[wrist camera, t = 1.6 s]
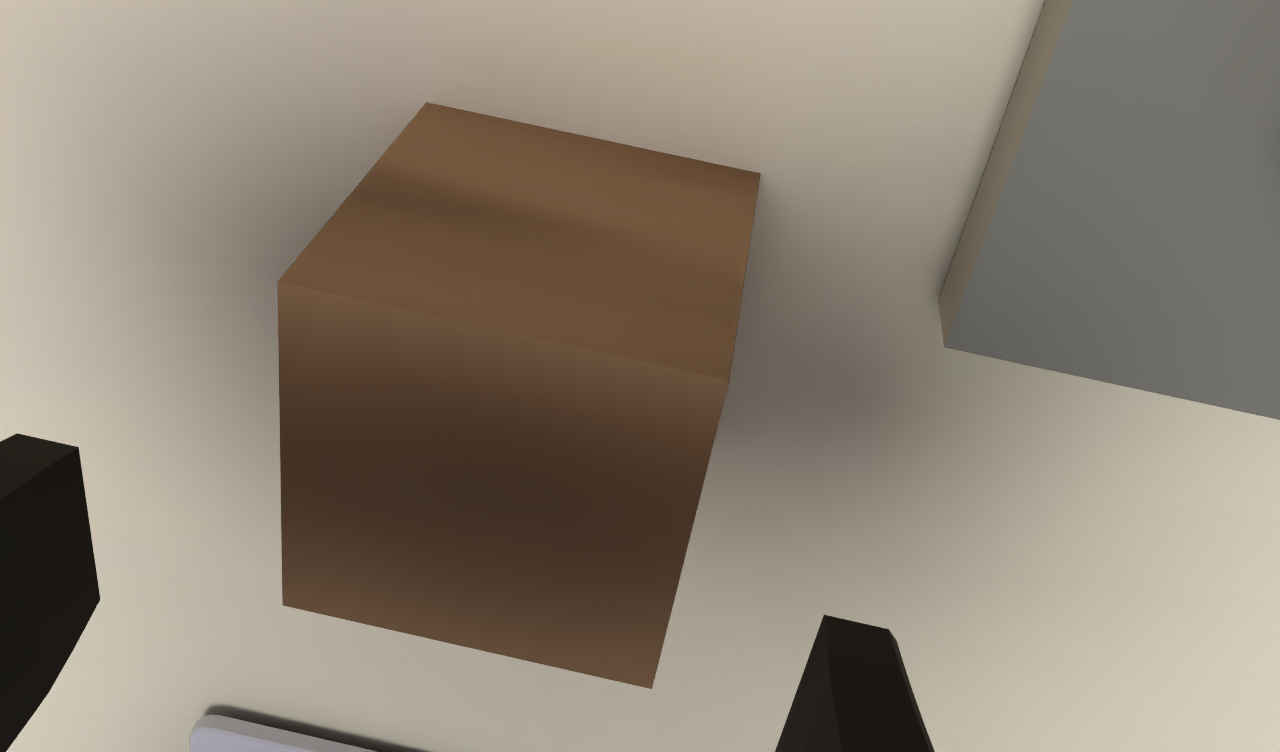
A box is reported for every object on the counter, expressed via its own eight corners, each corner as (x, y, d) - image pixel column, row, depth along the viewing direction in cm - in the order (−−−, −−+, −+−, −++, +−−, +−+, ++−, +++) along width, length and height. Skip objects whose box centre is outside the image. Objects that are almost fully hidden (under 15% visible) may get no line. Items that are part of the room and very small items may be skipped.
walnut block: (696, 438, 18) (651, 688, 14) (410, 376, 18) (282, 605, 14) (760, 171, 16) (729, 380, 11) (427, 100, 16) (277, 281, 12)
